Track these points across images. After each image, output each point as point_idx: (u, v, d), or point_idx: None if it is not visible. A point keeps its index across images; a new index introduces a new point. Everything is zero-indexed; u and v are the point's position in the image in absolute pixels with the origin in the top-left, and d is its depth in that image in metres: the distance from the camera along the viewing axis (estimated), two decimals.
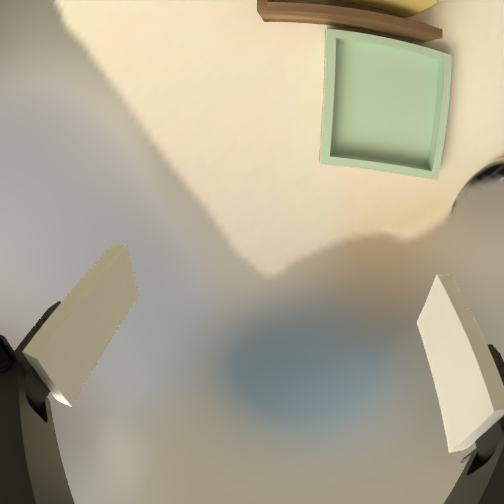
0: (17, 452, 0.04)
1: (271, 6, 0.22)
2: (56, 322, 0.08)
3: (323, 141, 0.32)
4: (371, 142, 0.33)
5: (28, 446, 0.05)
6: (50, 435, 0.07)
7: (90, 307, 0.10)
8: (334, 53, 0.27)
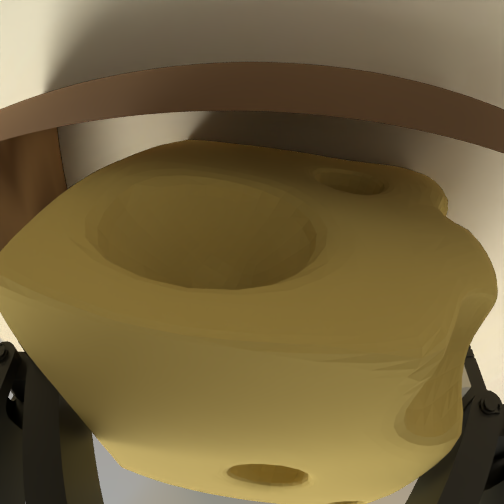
0: (52, 450, 0.05)
1: None
2: None
3: None
4: None
5: (64, 444, 0.05)
6: (87, 432, 0.07)
7: None
8: None
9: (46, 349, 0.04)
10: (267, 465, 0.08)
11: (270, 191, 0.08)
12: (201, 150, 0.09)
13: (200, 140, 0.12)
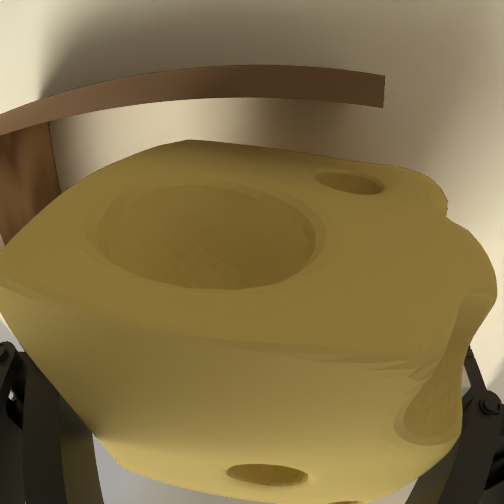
0: (52, 450, 0.05)
1: None
2: None
3: None
4: None
5: (64, 444, 0.05)
6: (87, 431, 0.07)
7: None
8: None
9: (46, 349, 0.04)
10: (267, 465, 0.08)
11: (270, 192, 0.08)
12: (201, 150, 0.09)
13: (200, 140, 0.12)
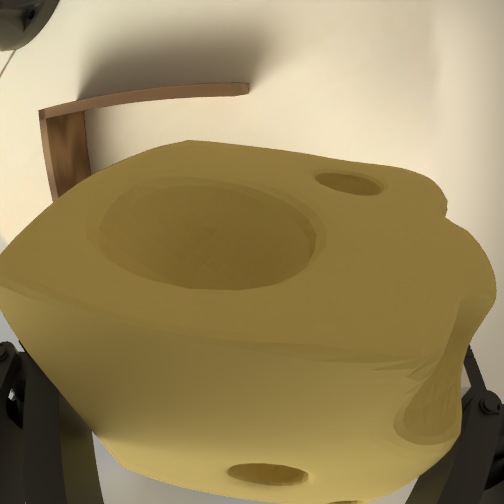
0: (52, 450, 0.05)
1: None
2: None
3: None
4: None
5: (64, 444, 0.05)
6: (87, 431, 0.07)
7: None
8: None
9: (48, 348, 0.04)
10: (267, 464, 0.08)
11: (271, 192, 0.08)
12: (201, 151, 0.09)
13: (200, 141, 0.12)
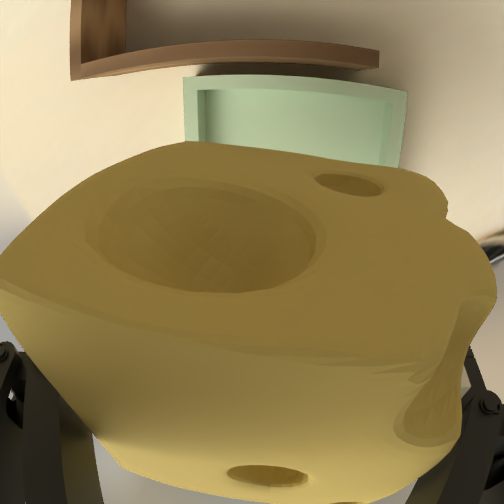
0: (52, 450, 0.05)
1: (85, 70, 0.15)
2: None
3: None
4: None
5: (64, 444, 0.05)
6: (87, 431, 0.07)
7: None
8: (195, 117, 0.19)
9: (47, 351, 0.04)
10: (267, 466, 0.08)
11: (270, 193, 0.08)
12: (201, 152, 0.09)
13: None
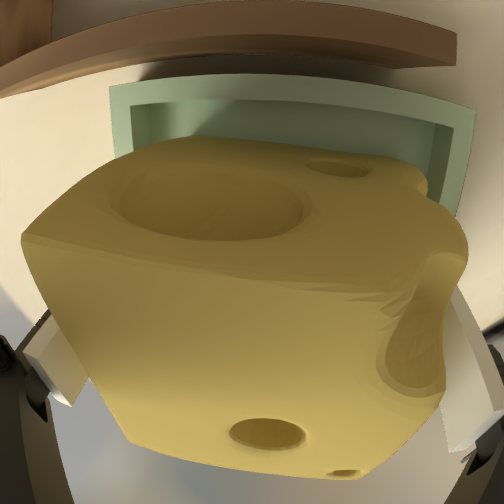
0: (17, 452, 0.04)
1: None
2: None
3: None
4: None
5: (28, 446, 0.05)
6: (50, 435, 0.07)
7: None
8: (130, 149, 0.12)
9: (72, 300, 0.05)
10: (267, 430, 0.09)
11: (265, 175, 0.09)
12: (204, 143, 0.11)
13: None
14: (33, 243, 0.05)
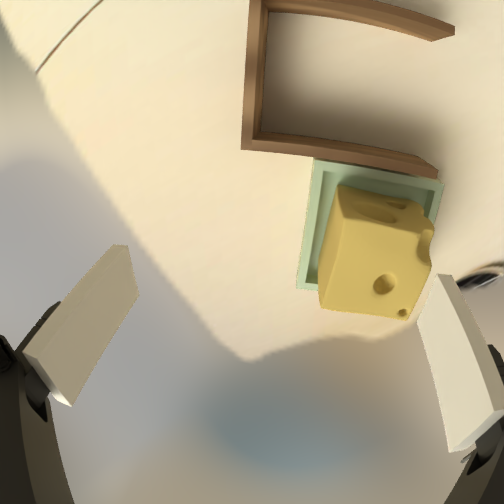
0: (17, 452, 0.04)
1: (256, 145, 0.27)
2: (56, 322, 0.08)
3: (300, 270, 0.37)
4: None
5: (28, 446, 0.05)
6: (50, 435, 0.07)
7: (90, 307, 0.10)
8: (319, 188, 0.31)
9: (356, 234, 0.25)
10: (379, 289, 0.28)
11: (380, 207, 0.28)
12: (354, 192, 0.30)
13: None
14: (351, 219, 0.24)
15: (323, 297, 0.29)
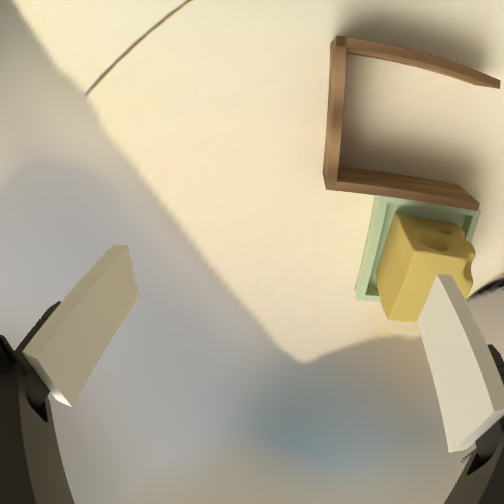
0: (17, 452, 0.04)
1: (339, 186, 0.30)
2: (56, 322, 0.08)
3: (361, 285, 0.40)
4: None
5: (28, 446, 0.05)
6: (50, 435, 0.07)
7: (90, 307, 0.10)
8: (383, 217, 0.35)
9: (422, 262, 0.28)
10: None
11: (434, 234, 0.32)
12: (412, 220, 0.34)
13: (401, 213, 0.36)
14: (419, 251, 0.28)
15: (390, 311, 0.33)
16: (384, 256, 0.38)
